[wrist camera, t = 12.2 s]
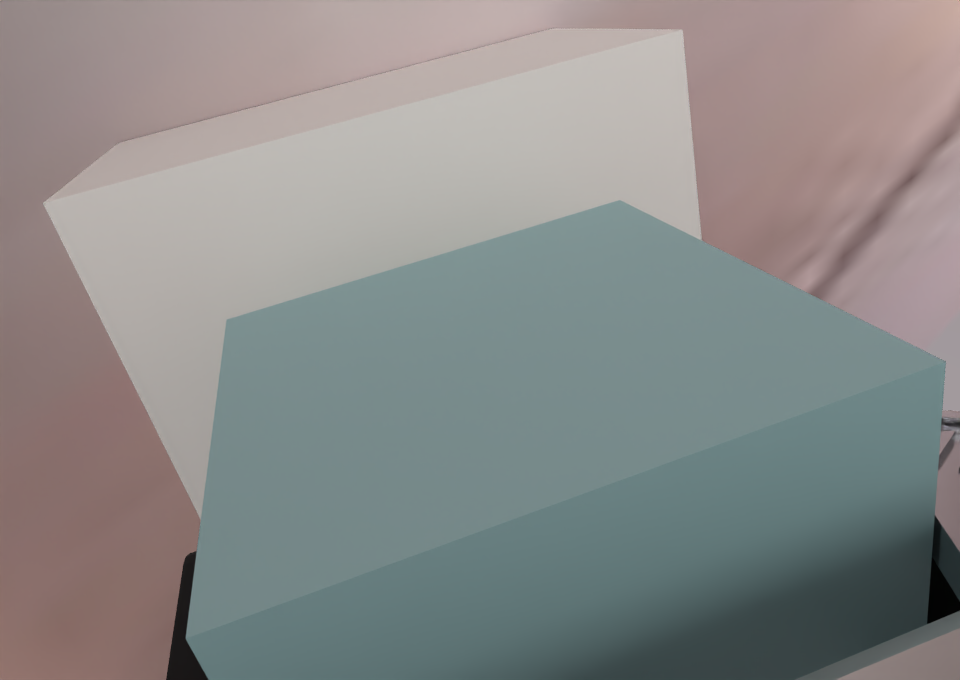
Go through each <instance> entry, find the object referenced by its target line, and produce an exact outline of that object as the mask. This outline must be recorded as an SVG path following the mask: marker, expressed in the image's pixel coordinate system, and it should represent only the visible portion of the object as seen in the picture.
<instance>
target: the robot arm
mask: <svg viewBox="0 0 960 680" xmlns="http://www.w3.org/2000/svg"><path fill="white" fill-rule="evenodd" d="M196 553H197V551H196V552H193V553H190V554H189V555H187V556H186V558H185V561H184V565H183V571H182V578H181V584H180V591H179V598H178V604H177V611H176V618H175V625H174V631H173V638H172V645H171V651H170V658H169V665H168V672H167V678H166V680H209V679H208V678H207V676H206V674H205V672H204V671H203V669H202V667H201V665H200V664H199V662H198V660H197V658H196V656H195V655H194V653H193V651H192V649H191V648H190V646H189V644H188V642H187V640H186V631H187V624H188V616H189V608H190V600H191V592H192V585H193V577H194V569H195V561H196ZM795 680H960V411H951V410H948V411H942V421H941V435H940V449H939V463H938V477H937V491H936V505H935V519H934V533H933V546H932V560H931V574H930V588H929V602H928V616H927V625H924V626H922V627H920V628H917V629H915V630H912V631H910V632H908V633H905V634H903V635H900V636H898V637H896V638H893V639H891V640H888V641H886V642H884V643H881V644H879V645H876V646H874V647H872V648H869V649H867V650H864V651H862V652H860V653H857V654H855V655H852V656H850V657H848V658H845V659H843V660H840V661H838V662H836V663H833V664H831V665H829V666H826V667H824V668H821V669H819V670H817V671H814V672H812V673H810V674H807V675H805V676H803V677H800V678H798V679H795Z"/></svg>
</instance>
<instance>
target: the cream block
mask: <svg viewBox="0 0 960 680" xmlns="http://www.w3.org/2000/svg"><path fill="white" fill-rule="evenodd" d="M618 200H621V201H623V202H625V203H627V204H629V205H631V206H633V207H635V208H637V209H639V210H641V211H643V212H645V213H647V214H649V215H651V216H653V217H655V218H657V219H659V220H661V221H663V222H665V223H667V224H669V225H671V226H673V227H675V228H677V229H679V230H681V231H683V232H685V233H687V234H689V235H691V236H693V237H695V238H697V239H699V240H701V241H702V238H701V227H700V216H699V205H698V194H697V183H696V172H695V161H694V150H693V139H692V128H691V117H690V106H689V95H688V84H687V73H686V62H685V51H684V40H683V30H680V29H576V28H552V29H548V30H544V31H541V32H537V33H533V34H529V35H526V36H522V37H518V38H514V39H510V40H507V41H503V42H499V43H495V44H491V45H488V46H484V47H480V48H476V49H472V50H469V51H465V52H461V53H457V54H453V55H450V56H446V57H442V58H438V59H435V60H431V61H427V62H423V63H419V64H416V65H412V66H408V67H404V68H400V69H397V70H393V71H389V72H385V73H381V74H378V75H374V76H370V77H366V78H362V79H359V80H355V81H351V82H347V83H343V84H340V85H336V86H332V87H328V88H325V89H321V90H317V91H313V92H309V93H306V94H302V95H298V96H294V97H290V98H287V99H283V100H279V101H275V102H271V103H268V104H264V105H260V106H256V107H252V108H249V109H245V110H241V111H237V112H234V113H230V114H226V115H222V116H218V117H215V118H211V119H207V120H203V121H199V122H196V123H192V124H188V125H184V126H180V127H177V128H173V129H169V130H165V131H161V132H158V133H154V134H150V135H146V136H143V137H139V138H135V139H131V140H127V141H124V142H120V143H118V144H116V145H115V146H114V147H113V148H111V149H110V150H109V151H108V152H106V153H105V154H104V155H103V156H101V157H100V158H99V159H98V160H96V161H95V162H94V163H93V164H91V165H90V166H89V167H88V168H86V169H85V170H84V171H83V172H81V173H80V174H79V175H77V176H76V177H75V178H74V179H72V180H71V181H70V182H69V183H67V184H66V185H65V186H64V187H62V188H61V189H60V190H59V191H57V192H56V193H55V194H54V195H52V196H51V197H50V198H49V199H47V200H46V201H45V202H44V203H43V205H44V207H45V209H46V211H47V213H48V215H49V217H50V219H51V221H52V223H53V225H54V227H55V229H56V231H57V233H58V235H59V237H60V239H61V241H62V243H63V245H64V247H65V249H66V251H67V253H68V255H69V257H70V259H71V261H72V263H73V265H74V267H75V269H76V271H77V273H78V275H79V277H80V279H81V281H82V283H83V285H84V287H85V289H86V291H87V293H88V295H89V297H90V299H91V301H92V303H93V305H94V307H95V309H96V311H97V313H98V315H99V317H100V319H101V321H102V323H103V325H104V327H105V329H106V331H107V333H108V335H109V337H110V339H111V341H112V343H113V345H114V347H115V349H116V351H117V353H118V355H119V357H120V359H121V361H122V363H123V365H124V367H125V369H126V371H127V373H128V375H129V377H130V379H131V381H132V383H133V385H134V387H135V389H136V391H137V393H138V395H139V397H140V399H141V401H142V403H143V405H144V407H145V409H146V411H147V413H148V415H149V417H150V419H151V421H152V423H153V425H154V427H155V429H156V431H157V433H158V435H159V437H160V439H161V441H162V443H163V445H164V447H165V449H166V451H167V453H168V455H169V457H170V459H171V461H172V463H173V465H174V467H175V469H176V471H177V473H178V475H179V477H180V479H181V481H182V483H183V485H184V487H185V489H186V491H187V493H188V495H189V497H190V499H191V501H192V503H193V505H194V507H195V509H196V511H197V513H198V515H199V517H200V519H201V515H202V507H203V499H204V491H205V483H206V476H207V468H208V460H209V452H210V444H211V437H212V429H213V421H214V413H215V406H216V398H217V390H218V382H219V374H220V367H221V359H222V351H223V343H224V336H225V328H226V320H227V319H230V318H233V317H237V316H240V315H243V314H247V313H250V312H253V311H256V310H260V309H263V308H266V307H270V306H273V305H276V304H279V303H283V302H286V301H289V300H293V299H296V298H299V297H302V296H306V295H309V294H312V293H316V292H319V291H322V290H325V289H329V288H332V287H335V286H339V285H342V284H345V283H348V282H352V281H355V280H358V279H362V278H365V277H368V276H371V275H375V274H378V273H381V272H385V271H388V270H391V269H394V268H398V267H401V266H404V265H408V264H411V263H414V262H417V261H421V260H424V259H427V258H431V257H434V256H437V255H440V254H444V253H447V252H450V251H454V250H457V249H460V248H463V247H467V246H470V245H473V244H477V243H480V242H483V241H487V240H490V239H493V238H496V237H500V236H503V235H506V234H510V233H513V232H516V231H519V230H523V229H526V228H529V227H533V226H536V225H539V224H542V223H546V222H549V221H552V220H556V219H559V218H562V217H565V216H569V215H572V214H575V213H579V212H582V211H585V210H588V209H592V208H595V207H598V206H602V205H605V204H608V203H611V202H615V201H618Z"/></svg>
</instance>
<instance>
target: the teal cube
mask: <svg viewBox="0 0 960 680" xmlns="http://www.w3.org/2000/svg"><path fill="white" fill-rule="evenodd" d="M945 365H946V361H944V360H942V359H939V358H938V357H936V356H934V355H931V354H929V353H927V352H925V351H923V350H921V349H919V348H917V347H915V346H913V345H911V344H909V343H907V342H905V341H903V340H901V339H899V338H897V337H895V336H893V335H891V334H889V333H887V332H885V331H883V330H881V329H879V328H877V327H875V326H873V325H871V324H869V323H867V322H865V321H863V320H861V319H859V318H857V317H855V316H853V315H851V314H849V313H847V312H845V311H843V310H841V309H839V308H837V307H835V306H833V305H831V304H829V303H827V302H825V301H823V300H821V299H818V298H816V297H814V296H812V295H810V294H808V293H806V292H804V291H802V290H800V289H798V288H796V287H794V286H792V285H790V284H788V283H786V282H784V281H782V280H780V279H778V278H776V277H774V276H772V275H770V274H768V273H766V272H764V271H762V270H760V269H758V268H756V267H754V266H752V265H750V264H748V263H746V262H744V261H742V260H740V259H738V258H736V257H734V256H732V255H730V254H728V253H726V252H724V251H722V250H720V249H718V248H716V247H714V246H712V245H710V244H707V243H705V242H703V241H701V240H699V239H697V238H695V237H693V236H691V235H689V234H687V233H685V232H683V231H681V230H679V229H677V228H675V227H673V226H671V225H669V224H667V223H665V222H663V221H661V220H659V219H657V218H655V217H653V216H651V215H649V214H647V213H645V212H643V211H641V210H639V209H637V208H635V207H633V206H631V205H629V204H627V203H625V202H623V201H621V200H618V201H615V202H611V203H608V204H605V205H602V206H598V207H595V208H592V209H588V210H585V211H582V212H579V213H575V214H572V215H569V216H565V217H562V218H559V219H556V220H552V221H549V222H546V223H542V224H539V225H536V226H533V227H529V228H526V229H523V230H519V231H516V232H513V233H510V234H506V235H503V236H500V237H496V238H493V239H490V240H487V241H483V242H480V243H477V244H473V245H470V246H467V247H463V248H460V249H457V250H454V251H450V252H447V253H444V254H440V255H437V256H434V257H431V258H427V259H424V260H421V261H417V262H414V263H411V264H408V265H404V266H401V267H398V268H394V269H391V270H388V271H385V272H381V273H378V274H375V275H371V276H368V277H365V278H362V279H358V280H355V281H352V282H348V283H345V284H342V285H339V286H335V287H332V288H329V289H325V290H322V291H319V292H316V293H312V294H309V295H306V296H302V297H299V298H296V299H293V300H289V301H286V302H283V303H279V304H276V305H273V306H270V307H266V308H263V309H260V310H256V311H253V312H250V313H247V314H243V315H240V316H237V317H233V318H230V319H227V320H226V328H225V336H224V343H223V351H222V359H221V367H220V374H219V382H218V390H217V398H216V406H215V413H214V421H213V429H212V437H211V444H210V452H209V460H208V468H207V476H206V483H205V491H204V499H203V507H202V515H201V522H200V530H199V538H198V546H197V553H196V561H195V569H194V577H193V585H192V592H191V600H190V608H189V616H188V624H187V631H186V640H187V642H188V644H189V646H190V648H191V649H192V651H193V653H194V655H195V656H196V658H197V660H198V662H199V664H200V665H201V667H202V669H203V671H204V672H205V674H206V676H207V678H208V679H209V680H795V679H798V678H800V677H803V676H805V675H807V674H810V673H812V672H814V671H817V670H819V669H821V668H824V667H826V666H829V665H831V664H833V663H836V662H838V661H840V660H843V659H845V658H848V657H850V656H852V655H855V654H857V653H860V652H862V651H864V650H867V649H869V648H872V647H874V646H876V645H879V644H881V643H884V642H886V641H888V640H891V639H893V638H896V637H898V636H900V635H903V634H905V633H908V632H910V631H912V630H915V629H917V628H920V627H922V626H924V625H927V616H928V602H929V588H930V574H931V560H932V546H933V533H934V519H935V505H936V491H937V477H938V463H939V449H940V435H941V421H942V406H943V393H944V379H945Z"/></svg>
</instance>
